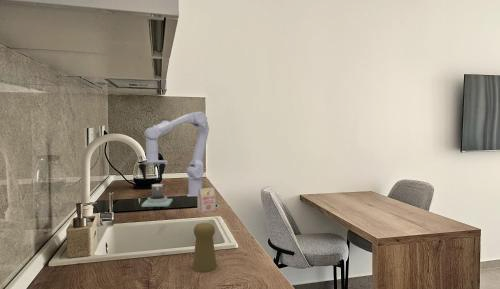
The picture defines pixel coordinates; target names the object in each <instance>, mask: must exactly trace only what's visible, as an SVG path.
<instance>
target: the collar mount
mask: <svg viewBox="0 0 500 289" xmlns="http://www.w3.org/2000/svg"><path fill="white" fill-rule="evenodd" d="M147 199H148V203H153V204H155V203H164V202H167V199H168V196H167V195H163V198H160V199H152V195H151V196H148V197H147Z"/></svg>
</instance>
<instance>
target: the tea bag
mask: <svg viewBox="0 0 500 289" xmlns="http://www.w3.org/2000/svg"><path fill="white" fill-rule="evenodd" d="M215 192H216V191H215V187H204V188H203V187H202V188H201V189H199V190H198V196H196V198H197V200H196V201H197V205H196V206H197V212H198V213H199V214H204V213H205V214H207V213H214V212H216V211H217V210H216V208H217V206H216V204H217V203H216V193H215Z"/></svg>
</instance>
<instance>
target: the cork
mask: <svg viewBox="0 0 500 289" xmlns="http://www.w3.org/2000/svg"><path fill="white" fill-rule="evenodd" d="M215 232H216V230H215V226H214V224H212V223H211V222H201V223H200V222H199V223H197V224H196V225H194V227H193V234H194V237H195V242H194V243H195V245H194V254H193V262H192V270H193V271H194V272H199V273H207V272H208V273H209V272H212V271H214V270H216V269H217V267H218V263H217V258H216V252H215V244H214V237H213V236H214V235H215Z"/></svg>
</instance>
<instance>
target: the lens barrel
mask: <svg viewBox="0 0 500 289" xmlns="http://www.w3.org/2000/svg"><path fill="white" fill-rule="evenodd" d="M163 189H164V184H163V183H154V184H151V196H152V199H160V198H163V196H164V190H163Z"/></svg>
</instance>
